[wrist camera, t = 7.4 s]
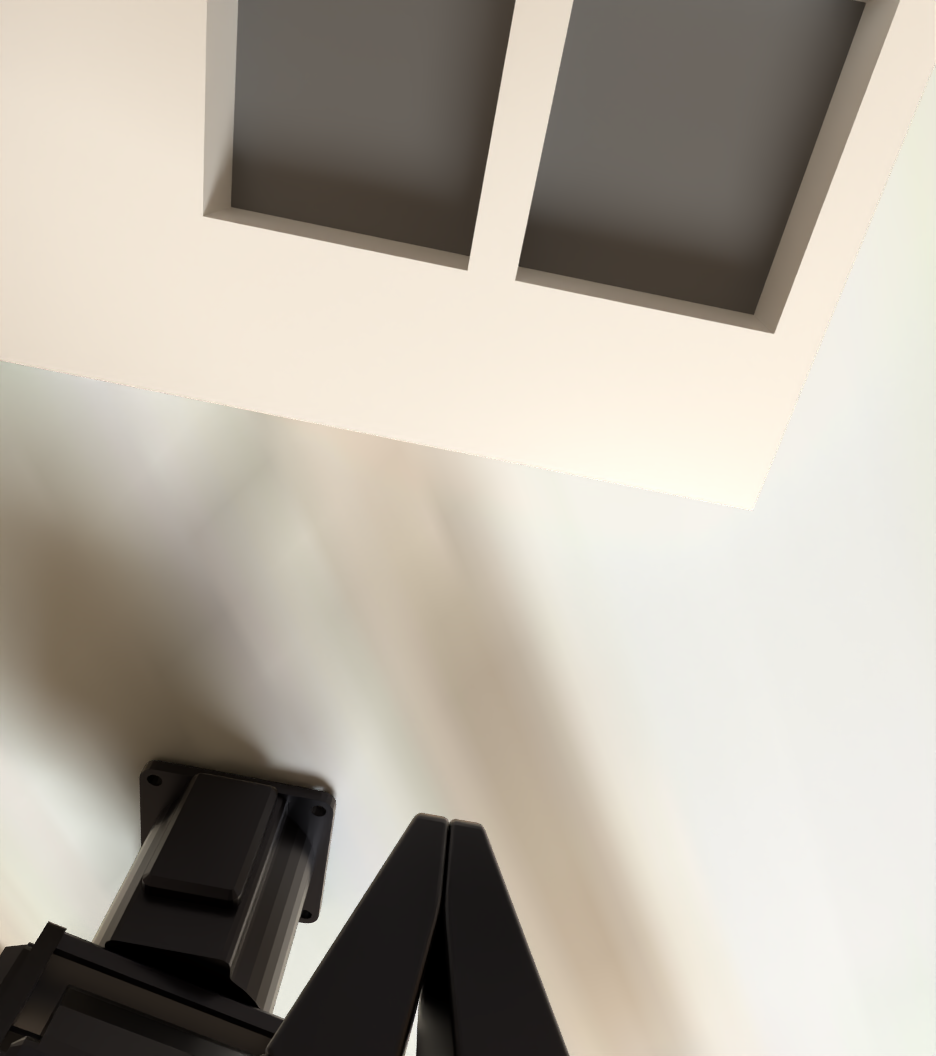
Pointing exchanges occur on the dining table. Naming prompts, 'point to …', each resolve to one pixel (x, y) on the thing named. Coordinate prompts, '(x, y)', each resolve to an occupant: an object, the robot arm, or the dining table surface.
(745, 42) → the board
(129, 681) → the dining table surface
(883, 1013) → the dining table surface
